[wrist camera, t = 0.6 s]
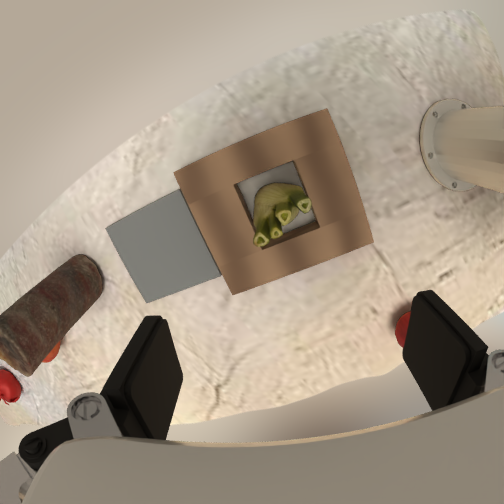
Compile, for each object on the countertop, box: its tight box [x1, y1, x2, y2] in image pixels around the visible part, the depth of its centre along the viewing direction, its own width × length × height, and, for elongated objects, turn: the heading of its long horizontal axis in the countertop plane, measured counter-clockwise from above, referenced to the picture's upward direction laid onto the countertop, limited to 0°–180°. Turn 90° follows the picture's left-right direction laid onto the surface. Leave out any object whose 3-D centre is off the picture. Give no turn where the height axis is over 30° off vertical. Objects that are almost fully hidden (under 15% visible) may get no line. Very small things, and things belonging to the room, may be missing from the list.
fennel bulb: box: [253, 183, 312, 247], centre depth 29 cm, size 6×5×12 cm
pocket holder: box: [174, 109, 374, 295], centre depth 33 cm, size 18×16×3 cm
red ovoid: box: [395, 311, 411, 347], centre depth 35 cm, size 6×6×8 cm
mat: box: [106, 189, 222, 303], centre depth 37 cm, size 12×12×1 cm
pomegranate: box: [0, 370, 21, 405], centre depth 49 cm, size 10×10×9 cm
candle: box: [0, 255, 103, 377], centre depth 30 cm, size 8×7×20 cm
